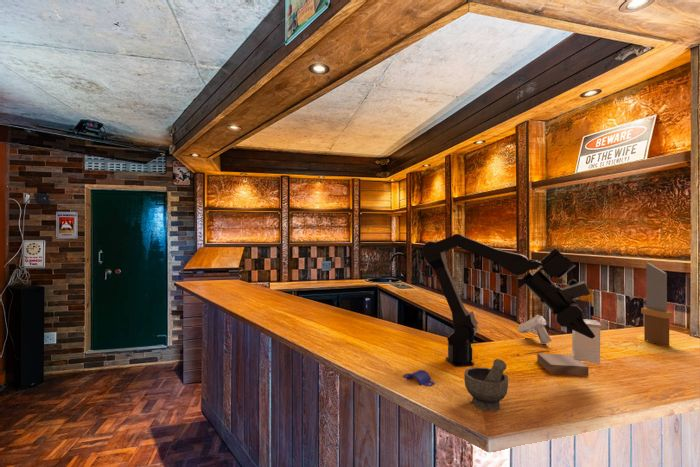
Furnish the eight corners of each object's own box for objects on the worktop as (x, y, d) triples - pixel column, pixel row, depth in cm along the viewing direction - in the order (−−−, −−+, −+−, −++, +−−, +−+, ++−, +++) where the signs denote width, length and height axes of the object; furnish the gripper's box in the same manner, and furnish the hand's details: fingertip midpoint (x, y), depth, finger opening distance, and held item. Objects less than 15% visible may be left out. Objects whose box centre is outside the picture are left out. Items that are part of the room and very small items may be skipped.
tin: (573, 360, 92) (574, 322, 92) (571, 353, 97) (572, 317, 97) (600, 364, 89) (601, 325, 89) (596, 357, 95) (597, 320, 95)
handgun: (554, 342, 124) (549, 312, 129) (543, 341, 124) (539, 311, 129) (528, 350, 142) (524, 323, 147) (518, 349, 142) (515, 322, 147)
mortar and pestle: (456, 397, 85) (456, 347, 85) (490, 393, 87) (490, 345, 87) (484, 420, 74) (484, 364, 74) (522, 415, 76) (522, 360, 76)
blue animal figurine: (438, 384, 93) (438, 375, 93) (427, 389, 90) (428, 379, 90) (409, 374, 100) (409, 365, 100) (399, 379, 97) (399, 369, 97)
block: (550, 374, 100) (550, 364, 100) (537, 362, 110) (537, 353, 110) (588, 377, 99) (588, 366, 99) (571, 364, 109) (571, 354, 109)
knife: (641, 339, 135) (641, 262, 135) (649, 339, 135) (649, 262, 136) (664, 346, 126) (663, 264, 127) (672, 346, 127) (672, 264, 127)
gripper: (572, 273, 87) (627, 323, 82) (566, 268, 104) (611, 309, 98) (536, 302, 91) (586, 351, 86) (536, 292, 107) (578, 333, 102)
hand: (591, 334), depth 93 cm, fingers closed on tin, 6 cm apart
